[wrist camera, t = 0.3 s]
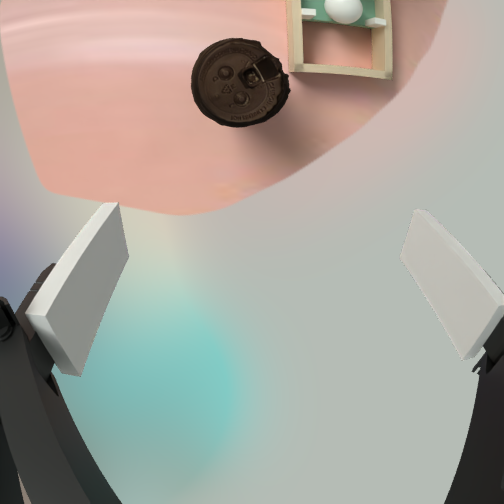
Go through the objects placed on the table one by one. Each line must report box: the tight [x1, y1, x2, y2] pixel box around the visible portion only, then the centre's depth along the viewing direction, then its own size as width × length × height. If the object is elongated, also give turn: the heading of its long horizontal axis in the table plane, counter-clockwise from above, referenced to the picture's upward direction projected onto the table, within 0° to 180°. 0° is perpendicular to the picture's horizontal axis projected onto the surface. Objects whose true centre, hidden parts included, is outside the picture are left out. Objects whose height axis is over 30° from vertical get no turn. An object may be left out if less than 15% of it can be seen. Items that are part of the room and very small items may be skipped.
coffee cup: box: [191, 38, 291, 128], centre depth 27 cm, size 9×8×13 cm
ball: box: [324, 0, 363, 24], centre depth 24 cm, size 4×4×4 cm
